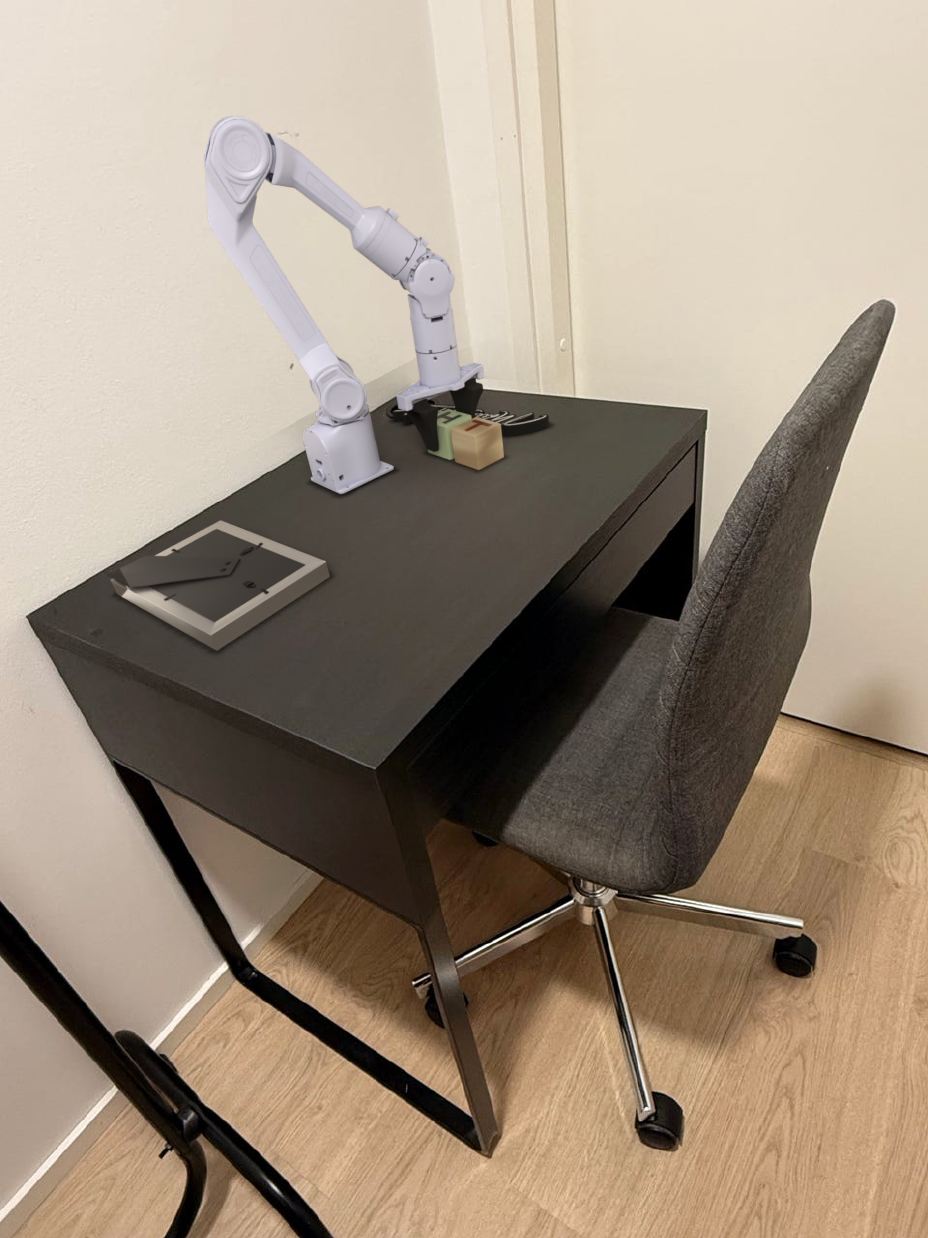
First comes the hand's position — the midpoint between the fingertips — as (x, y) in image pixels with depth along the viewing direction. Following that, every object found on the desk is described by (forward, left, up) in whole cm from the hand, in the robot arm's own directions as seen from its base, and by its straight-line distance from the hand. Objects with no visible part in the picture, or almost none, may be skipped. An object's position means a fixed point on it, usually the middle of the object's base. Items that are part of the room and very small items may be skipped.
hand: (449, 441), depth 109 cm
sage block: (0, 0, -1) cm, 1 cm away
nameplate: (+9, +6, -2) cm, 11 cm away
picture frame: (-40, -5, -2) cm, 41 cm away
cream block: (0, -6, -1) cm, 6 cm away
